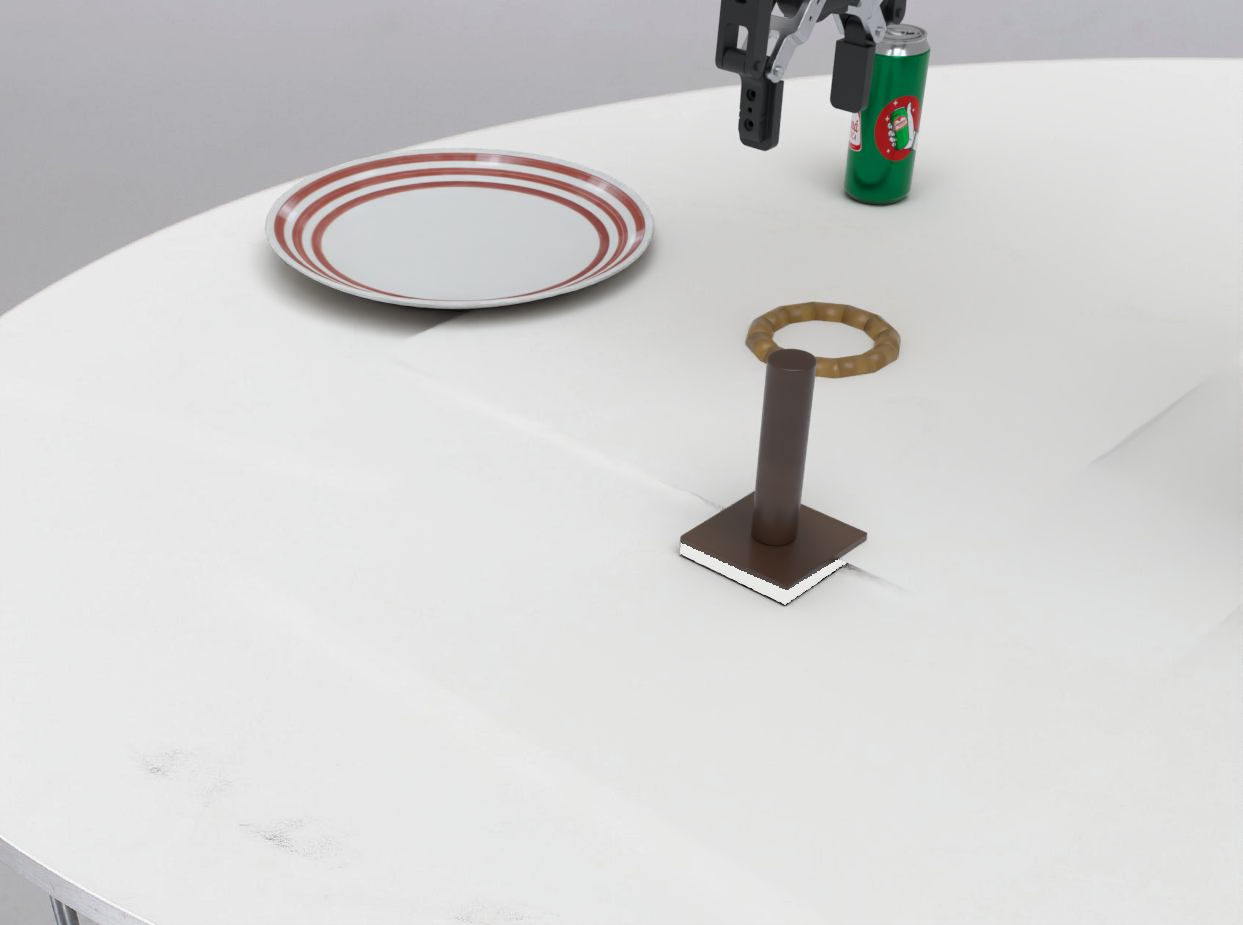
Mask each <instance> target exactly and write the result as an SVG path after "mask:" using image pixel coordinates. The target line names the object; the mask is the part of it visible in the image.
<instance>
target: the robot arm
mask: <svg viewBox="0 0 1243 925" xmlns="http://www.w3.org/2000/svg"><path fill="white" fill-rule="evenodd" d="M776 5H777V7H778V9H779V12H781V14H782V15H783V16H779V15H776V14H775V15H774V14H772V13H773V11H774V9H775V6H776ZM906 10H907V0H720V7H719V18H718V26H717V37H716V48H715V57H714V64H715V66H716V68H717V69H718V70H722V71H726V72H730V73H734V74H737V75H738V76H739V77H740V95H739V96H740V97H739V111H738V125H737V129H738V136H739V140H740V142H741V144H742V145H743V146H746V147H748V148H752V149H756V150H758V151H763V152H767V151H770V150H772V149H774V148H776V147H777V146H778V145H779V142H780V132H781V119H782V109H783V100H784V98H783V97H784V86H785V80H784V79H783V77H784V75H785V72H786V70H787V68H788V66H789V64H790V61H791V59H792V58H793V55H794V53H795V51H796V48H798V47H799V46H802V45H803V44H805V43H806V42H807V41H808V40H809V39H810V36H811V34H812V33H813V30H814V28H815V25H816V24H817V23H821V22H823V21H824V20H826V18H827V17H829V16H830V15H832V17H833V20H834V22H835V25H836V27H837V31H838V33H839V34H840V35H841V36H843V37H841V38H839V39H837V40H835V49H834V55H833V56H834V58H833V66H832V74H831V75H832V77H831V84H830V85H831V86H830V94H829V102H830V105H831V106H832V107H833V108H834V109H836V110H841V111H844V112H848V113H851V114H852V113H858V112H860V111H862V110H865V109H866V108H867V106H868V101H869V93H870V89H871V82H872V79H871V77H872V74H873V71H872V70H873V66H874V58H875V50H876V43H879V42H881V41H882V39H883V38H884V35H885V32H886V27H887V26H888V25H889V24H890V23H891V24H896V25H898V24H902V21H903V20H904V18H905V16H906ZM740 27H744V28H745V29H746V30H747V34H746V37H745V38H744V41H743V42H742V45H741V48H739V47H738V40H739V31H740V30H739V29H740ZM770 38H774V39H776V42H775V45H774V46H773V49H772V50H771V54H770V55H767V54H768V45H769V39H770Z"/></svg>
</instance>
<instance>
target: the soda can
mask: <svg viewBox="0 0 1243 925" xmlns="http://www.w3.org/2000/svg"><path fill="white" fill-rule="evenodd" d="M928 36H929V34H928V31H927V30H926V29H924V28H923V27H921V26H918V25H913V24H908V23H900V24H898V25H896V24H891V23H890V24H889V25H888V26H887V27H886V32H885V35H884V38H883V39H882V41H881V42H879V43H876V50H875V58H874V66H873V70H872V71H873V74H872V77H871V79H872V82H871V89H870V93H869V101H868V106H867V108H866V109H865V110H862V111H860V112H858V113H851V120H850V128H849V134H848V135H849V136H848V145H847V153H846V160H845V161H846V162H845V171H844V178H843V179H844V180H843V189H844V190H845V192H846V193H847V195H848V196H849V197H850V198H851V199H852V200H855V201H857V202H860V203H862V204H863V203H864V204H866V205H867V204H869V205H880V204H882V205H890V204H894V203H895V204H896V203H899V202H900V201H902V200H903V199H904V198H905V197H907V195H909V193H910V192H911V189H912V183H913V175H914V169H915V168H914V167H915V161H916V154H917V147H918V141H919V133H920V126H921V119H922V113H923V105H924V99H925V92H926V85H927V77H928V70H929V64H930V57H931V48H932V47H931V46H930V44H929V42H928V39H927V38H928Z"/></svg>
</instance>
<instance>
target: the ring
mask: <svg viewBox="0 0 1243 925" xmlns="http://www.w3.org/2000/svg"><path fill="white" fill-rule="evenodd" d="M813 321H818V322H829V323H838V324H839V323H840V324H844V325H846V326H849V327H852V328H855V329H857V330H860V331H862V332H864V333H865V334H866V335H867V336H868V337H869V338H870V339H871V340H872V341H873V342H874V344H873V347H871V348H870V349H869V350H866V351H865V352H863V353H861V354H855V355H848V356H847V355H846V356H840V357H834V358H833V357H826V356H825V357H824V356H815V358H816V360H817V365H816V374H815V378H825V379H842V378H849V377H856V376H862V375H870V374H874V373H877V372H878V371H880V370H882V369H883V368H885V367H887V366H889V365H890V364H892V363H894V362H895V361H897V360H898V359H899V354H900V348H901V341H902V338H901V335H900V333H899V332H898V330H896V329H895V327H893V326H892V325H891V324H890V323H889V322H888V321H887V320H886V319H884V317H883V316H881V315H879V314H877V313H874V312H871V311H868V310H865V309H862V308H859V307H857V306H853V305H851V304H846V303H845V304H844V303H833V302H823V301H807V302H806V301H805V302H800V303H792V304H787V305H786V304H785V305H779V306H777V307H775V308H772V309H771V310H769V311H767V312H765V313H763V314H761V315H760V316H757V317H756V318H754V319H753V321H752V322H751V323H750V325H749V326H750V327H749V329H748V333H747V335H746V339H745V346H746V347H747V348H748V349H749V351H751V352H752V354H753V355H754V356H755V357H756V358H757V359H758V360H759V362H761V363H763V364H766V365H767V358H768V356H769V355H770V354H771V353H772V352H774V351H777V350H781V349H785V347H781V346H780V345H778V343H776V342H775V340H774V335H775V333H776V332H777V331H779V330H781V329H784V328H785V327H787V326H789V325H791V324H797V323H798V324H799V323H806V322H813Z"/></svg>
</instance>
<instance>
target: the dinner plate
mask: <svg viewBox="0 0 1243 925" xmlns="http://www.w3.org/2000/svg"><path fill="white" fill-rule="evenodd" d="M264 232H265V236H266V239H267V241H268V244H269V246H270V247H271V249H272V250H273V251H274V252H275V254H276V255H277V256H278V257H279V258H280V259H281V260H283V261H284V262H285V263H286V264H287V265H289V266H290V267H292V268H294V269H295V270H297V271H298V272H300V273H302V275H304V276H306V277H308V278H310V279H311V280H314V281H315V282H319V283H320V284H322V285H325V286H327V287H329V288H331V289H332V288H333V289H335V290H338V291H341V292H343V293H346V294H349V295H353V296H357V297H360V298H364V299H366V300H367V299H368V300H372V301H376V302H381V303H386V304H393V305H399V306H404V307H405V306H407V307H415V308H425V309H436V310H476V309H483V308H484V309H485V308H495V307H504V306H511V305H517V304H524V303H529V302H533V301H538V300H543V299H546V298H551V297H555V296H559V295H562V294H567V293H571V292H576V291H579V290H581V289H584V288H587V287H590V286H593V285H595V284H597V283H599V282H602V281H605V280H606V279H609V278H610V277H613V276H614V275H616V274H619V273H620V272H621V271H623V270H625V269H627V268H628V267H629V266H630V265H632V264H633V263H635V261H637V260H638V259H639V258H640V257H641V256H642V255H644V253H645V251H646V250H647V249H648V247H649V246H650V244H651V242H652V239H653V237H654V232H655V220H654V216H653V214H652V212H651V210H650V208H649V205H647V203H646V202H645V201H644V199H643V198H642V197H641V196H640V195H639V194H638V193H637V192H636V191H635V190H633V189H632V188H631V187H630V186H628V185H627V184H625V183H623V182H622V181H620V180H618V179H617V178H614V177H613V176H611V175H609V174H607V173H604V172H602V171H599V170H597V169H594V168H591V167H589V166H586V165H583V164H580V163H576V162H573V161H569V160H566V159H562V158H557V157H553V156H550V155H549V156H548V155H543V154H537V153H533V152H532V153H531V152H524V151H515V150H508V149H507V150H505V149H497V148H496V149H495V148H477V147H476V148H474V147H441V148H440V147H439V148H423V149H422V148H421V149H408V150H399V151H393V152H385V153H380V154H375V155H369V156H366V157H362V158H358V159H357V158H356V159H353V160H350V161H346V162H342V163H340V164H337V165H334V166H331V167H329V168H326V169H324V170H321V171H319V172H316V173H313V174H312V175H310V176H308V177H306V178H304V179H302V180H301V181H299V182H297V183H295V185H293V186H292V187H289V189H287V191H285V192H284V193H283V194H281V195H280V196H279V197H278V198H277V199H276V201H275V202H274V203H273V204H272V206H271V207H270V209H269V211H268V213H267V215H266V219H265V223H264Z"/></svg>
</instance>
